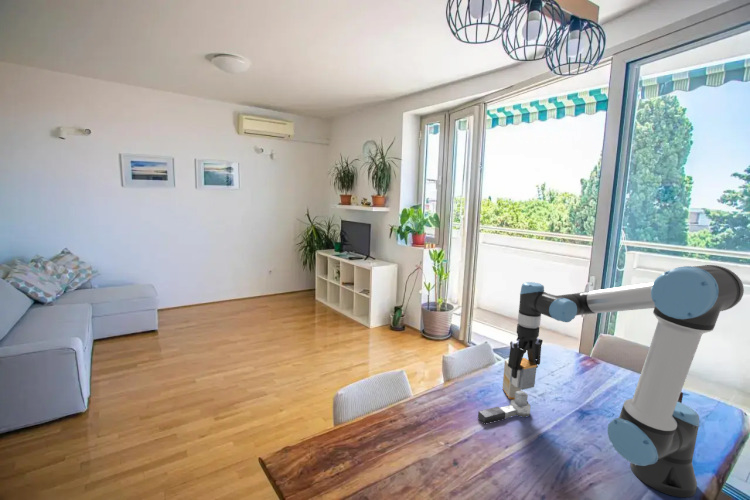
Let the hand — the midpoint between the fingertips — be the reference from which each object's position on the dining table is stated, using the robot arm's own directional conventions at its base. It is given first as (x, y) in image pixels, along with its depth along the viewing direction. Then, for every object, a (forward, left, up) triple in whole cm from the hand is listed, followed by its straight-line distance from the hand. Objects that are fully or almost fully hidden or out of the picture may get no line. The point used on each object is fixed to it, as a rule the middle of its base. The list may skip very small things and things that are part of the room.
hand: (522, 383), depth 135 cm
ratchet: (0, +7, -11) cm, 13 cm away
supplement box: (+11, -6, -11) cm, 17 cm away
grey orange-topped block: (0, 0, 0) cm, 0 cm away
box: (-17, -60, -11) cm, 63 cm away
